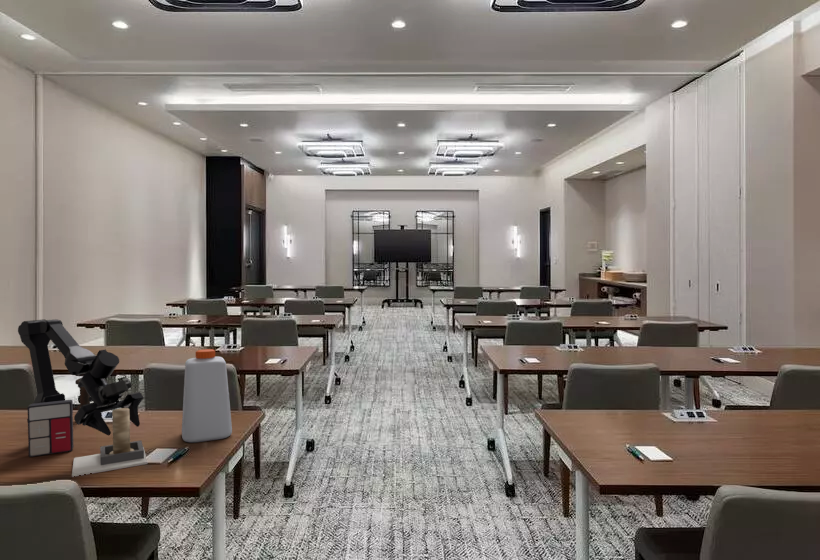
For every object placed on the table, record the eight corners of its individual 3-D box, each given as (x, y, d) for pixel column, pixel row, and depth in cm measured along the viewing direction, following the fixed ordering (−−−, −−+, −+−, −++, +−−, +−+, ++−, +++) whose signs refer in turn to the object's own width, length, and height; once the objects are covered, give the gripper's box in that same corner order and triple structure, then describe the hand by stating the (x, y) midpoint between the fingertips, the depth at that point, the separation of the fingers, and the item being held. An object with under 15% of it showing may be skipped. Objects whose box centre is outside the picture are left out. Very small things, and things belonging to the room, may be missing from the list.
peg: (105, 460, 153) (104, 413, 152) (114, 453, 159) (113, 407, 159) (129, 459, 154) (128, 412, 153) (137, 451, 160) (136, 406, 160)
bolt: (85, 422, 194) (84, 380, 194) (73, 421, 195) (72, 380, 195) (97, 417, 200) (96, 377, 200) (85, 417, 201) (84, 377, 201)
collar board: (71, 477, 142) (71, 466, 142) (74, 459, 155) (73, 450, 155) (147, 463, 151) (147, 454, 151) (143, 448, 164) (143, 439, 164)
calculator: (28, 458, 157) (26, 407, 157) (30, 453, 161) (29, 403, 161) (72, 451, 162) (71, 402, 162) (73, 447, 166) (72, 399, 166)
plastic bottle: (182, 445, 167) (180, 355, 167) (181, 432, 181) (179, 349, 180) (233, 438, 173) (231, 351, 173) (228, 426, 187) (227, 345, 187)
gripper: (79, 376, 149) (107, 420, 144) (138, 365, 166) (165, 404, 161) (62, 402, 152) (88, 446, 148) (122, 388, 169) (147, 427, 165)
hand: (124, 429), depth 155 cm, fingers open, 9 cm apart
